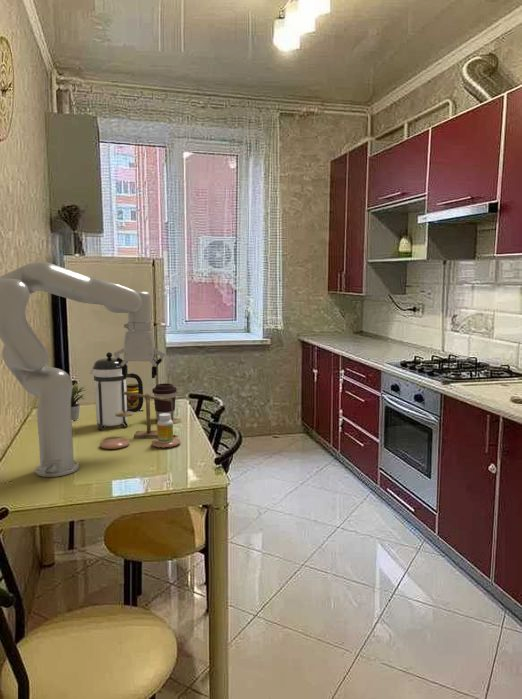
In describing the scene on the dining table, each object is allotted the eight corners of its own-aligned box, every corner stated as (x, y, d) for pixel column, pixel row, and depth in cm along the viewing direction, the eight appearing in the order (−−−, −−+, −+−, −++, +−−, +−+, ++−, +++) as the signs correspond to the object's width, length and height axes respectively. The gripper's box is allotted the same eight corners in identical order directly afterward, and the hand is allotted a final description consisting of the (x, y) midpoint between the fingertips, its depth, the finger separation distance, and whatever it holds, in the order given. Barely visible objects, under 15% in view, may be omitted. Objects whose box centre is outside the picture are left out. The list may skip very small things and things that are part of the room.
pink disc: (126, 450, 181) (126, 446, 181) (96, 450, 181) (96, 447, 180) (131, 441, 191) (131, 438, 191) (104, 442, 190) (103, 438, 190)
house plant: (87, 423, 216) (85, 384, 214) (51, 425, 214) (49, 386, 212) (92, 415, 230) (90, 378, 228) (59, 417, 228) (57, 379, 226)
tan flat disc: (179, 448, 182) (178, 445, 182) (149, 449, 181) (149, 445, 181) (181, 440, 192) (181, 437, 192) (154, 441, 191) (154, 437, 191)
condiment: (129, 413, 235) (128, 386, 233) (122, 409, 241) (121, 383, 240) (144, 410, 239) (143, 384, 237) (137, 407, 246) (136, 382, 244)
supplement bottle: (170, 443, 183) (169, 416, 182) (155, 443, 184) (154, 416, 183) (175, 439, 188) (174, 413, 187) (161, 438, 189) (160, 412, 188)
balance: (114, 439, 194) (112, 393, 192) (118, 434, 201) (116, 390, 199) (180, 437, 195) (179, 392, 193) (182, 432, 202) (181, 388, 200)
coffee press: (114, 433, 202) (110, 355, 198) (84, 428, 210) (81, 353, 206) (145, 423, 217) (142, 350, 213) (116, 418, 225) (113, 348, 221)
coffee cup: (161, 424, 215) (160, 387, 213) (149, 419, 223) (147, 384, 221) (181, 419, 222) (180, 384, 220) (169, 415, 229) (168, 381, 227)
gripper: (111, 327, 176) (111, 378, 177) (163, 328, 176) (163, 379, 178) (116, 326, 183) (116, 375, 185) (166, 327, 184) (166, 376, 185)
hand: (139, 377), depth 181 cm, fingers open, 9 cm apart
